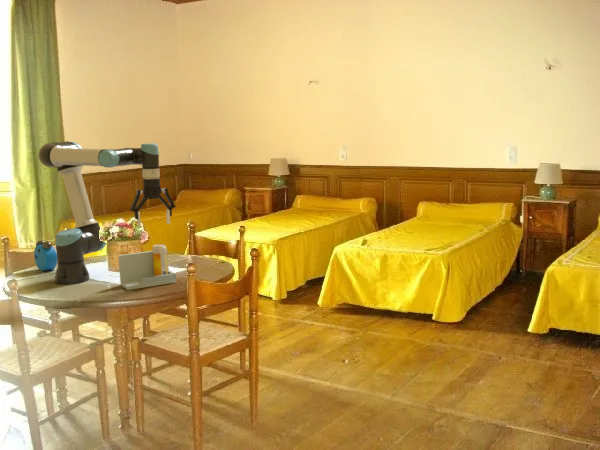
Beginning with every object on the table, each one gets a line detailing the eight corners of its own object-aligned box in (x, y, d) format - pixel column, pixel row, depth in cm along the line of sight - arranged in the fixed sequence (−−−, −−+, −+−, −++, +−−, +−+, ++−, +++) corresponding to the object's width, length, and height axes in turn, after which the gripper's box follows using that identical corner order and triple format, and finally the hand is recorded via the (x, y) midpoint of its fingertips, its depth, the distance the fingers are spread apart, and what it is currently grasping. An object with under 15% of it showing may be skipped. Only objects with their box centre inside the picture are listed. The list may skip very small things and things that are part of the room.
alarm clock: (58, 270, 330) (56, 241, 328) (46, 273, 326) (44, 243, 323) (46, 267, 339) (43, 238, 336) (34, 269, 334) (31, 240, 332)
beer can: (162, 275, 304) (159, 243, 302) (171, 277, 300) (168, 244, 298) (151, 278, 299) (149, 246, 297) (160, 280, 295) (158, 247, 293)
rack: (127, 290, 286) (125, 259, 284) (120, 285, 296) (118, 255, 293) (176, 282, 297) (174, 252, 295) (168, 277, 306) (166, 249, 304)
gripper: (125, 180, 287) (128, 228, 291) (180, 177, 299) (183, 223, 303) (121, 179, 294) (124, 226, 297) (175, 175, 306) (177, 221, 309)
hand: (154, 225), depth 300 cm, fingers open, 13 cm apart
